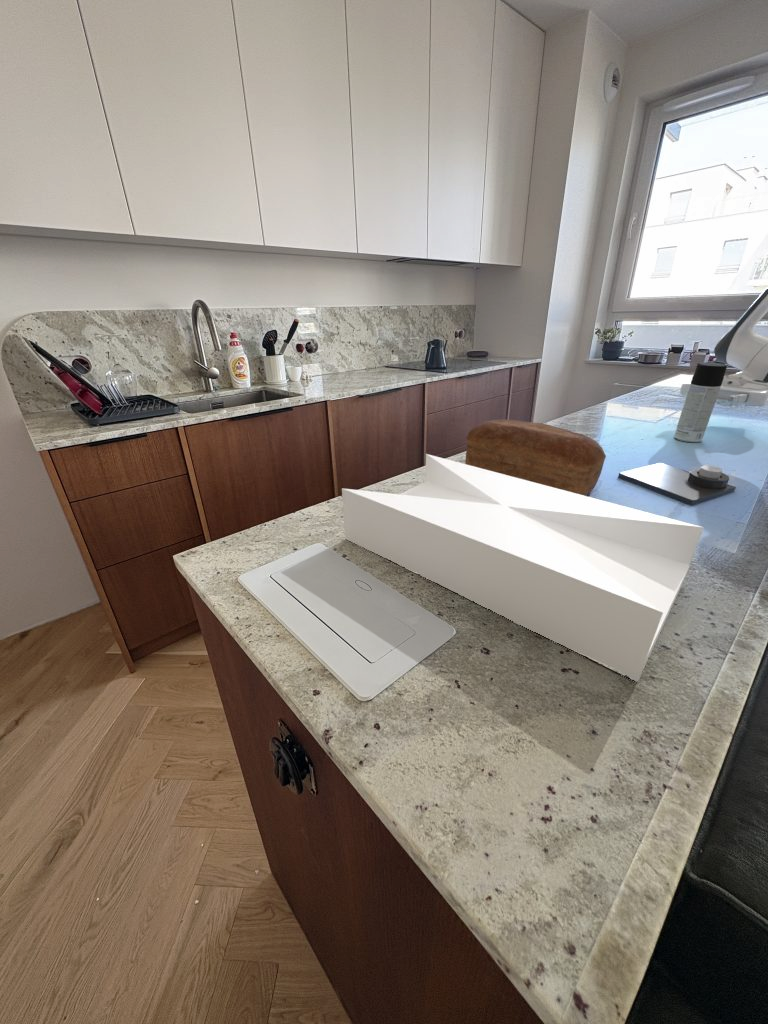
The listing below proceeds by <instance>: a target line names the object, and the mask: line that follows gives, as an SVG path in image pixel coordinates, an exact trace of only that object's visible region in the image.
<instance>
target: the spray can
mask: <svg viewBox="0 0 768 1024" xmlns="http://www.w3.org/2000/svg"><path fill="white" fill-rule="evenodd" d="M727 369H728V365H727V364H725V363H720V362H698V363H697V365H696V368H695V369H694V370H695V371H694V374H693V375H692V378H691V381H690V382H691V384H690V387H689V390H688V393H687V396H685V400H684V403H683V406H682V410H681V412H680V416H679V420H678V422H677V424H676V429H675V431H674V435H673V438H674V439H675V440H677V441H680V442H684V443H685V442H686V443H700V442H702V441H703V439H704V436H705V434H706V431H707V428H708V425H709V422H710V419H711V416H712V413H713V410H714V407H715V406H716V399H717V396H718V393H719V391H720V388H721V385H722V382H723V379H724V377H725V374H726V371H727Z"/></svg>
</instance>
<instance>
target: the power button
mask: <svg viewBox="0 0 768 1024" xmlns="http://www.w3.org/2000/svg"><path fill="white" fill-rule="evenodd" d="M699 469H700V471H699V475H700V476H703V477H706V478H712V479H719V478H720V476H721V473H723V469H722V468H721V467H718V466H714V465H701V466H700V468H699Z"/></svg>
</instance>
